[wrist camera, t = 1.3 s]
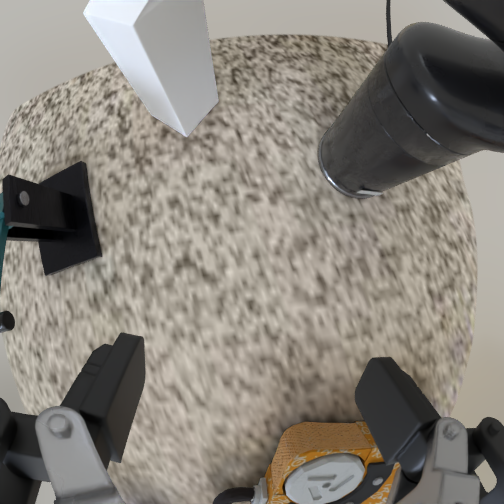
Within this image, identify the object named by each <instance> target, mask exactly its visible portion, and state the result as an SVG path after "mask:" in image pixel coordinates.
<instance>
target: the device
mask: <svg viewBox="0 0 504 504" xmlns="http://www.w3.org/2000/svg"><path fill="white" fill-rule="evenodd" d="M399 466H400V464H399V462H397V463H394V464H390V465H387V466H386V464H385V462H384V460H383V458H382V455H381V453H380V451H379V449H378V447H377V445H376V443H375V441H374V439H373V437H372V435H371V433H370V431H369V429H368V426H367V424H366V422H365V421H355V423H318V422H302V423H299V424H296V425H293V426H291V427H289V428H288V429H287V430H286V431H285V432H284V433H283V435H282V436H281V439H280V442H279V445H278V448H277V450H276V453H275V456H274V458H273V461H272V463H271V464H269V466H268V469H267V472H266V474H265V477H264V478H260V481H259V483H258V485H254V486H253V488H246V487H238V488H232V489H227V490H225V491H224V492H222V493H220V494H219V495H218V496H217V497H216V498H215V499H214V501H213V504H232V503H233V502H241V501H251V503H252V504H386V501H387V498H388V495H389V492H390V489H391V486H392V482H393V479H394V476H395V472H396V470H397V468H398V467H399Z"/></svg>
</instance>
